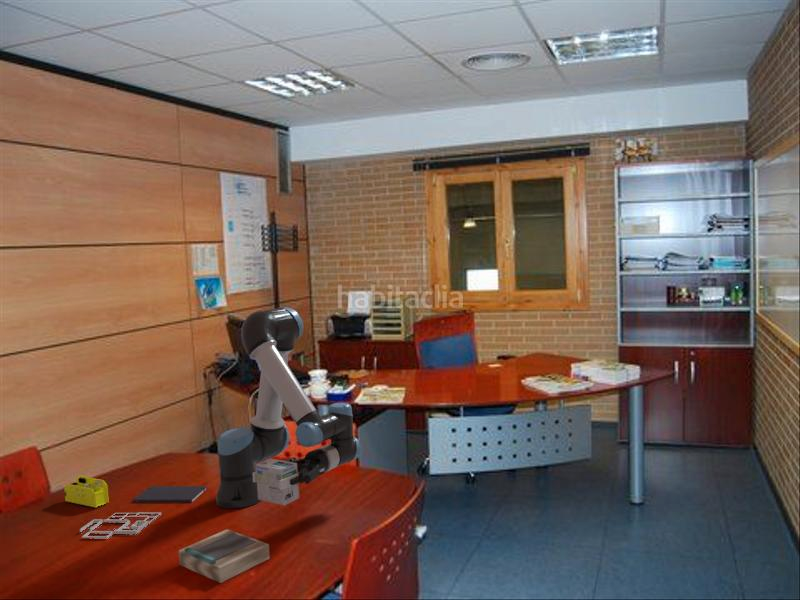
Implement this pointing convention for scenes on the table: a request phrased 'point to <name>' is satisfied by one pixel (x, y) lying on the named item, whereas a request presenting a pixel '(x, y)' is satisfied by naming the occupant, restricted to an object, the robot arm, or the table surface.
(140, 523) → the floor plan model
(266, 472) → the light bulb box
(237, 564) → the dock
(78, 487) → the yellow toy chassis
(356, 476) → the table surface
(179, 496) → the notebook
